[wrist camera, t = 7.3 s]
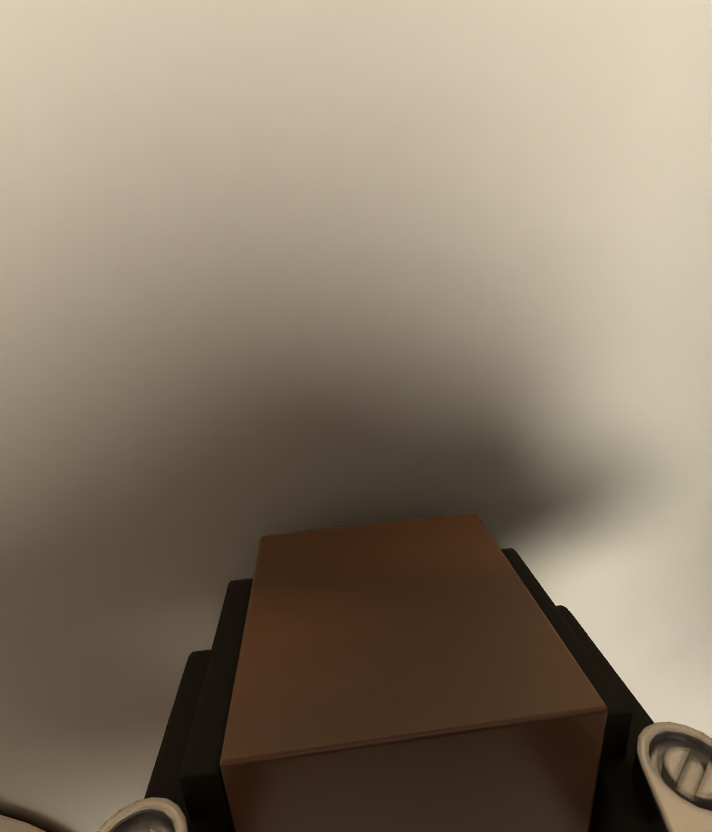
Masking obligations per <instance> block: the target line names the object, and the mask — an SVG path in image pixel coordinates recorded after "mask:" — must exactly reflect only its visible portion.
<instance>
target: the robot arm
mask: <svg viewBox="0 0 712 832" xmlns="http://www.w3.org/2000/svg"><path fill="white" fill-rule="evenodd" d="M500 550H501V551H502V552H503V554H504V555H505V557H506V558H507V560H508V561H509V563H510V564H511V566H512V567H513V569H514V570H515V572H516V573H517V575H518V576H519V578H520V579H521V581H522V582H523V584H524V585H525V586H526V588H527V589H528V591H529V592H530V594H531V595H532V597H533V598H534V600H535V601H536V603H537V604H538V606H539V607H540V609H541V610H542V612H543V613H544V615H545V616H546V618H547V619H548V620H549V622H550V623H551V625H552V626H553V628H554V629H555V631H556V632H557V634H558V635H559V637H560V638H561V640H562V641H563V643H564V644H565V646H566V647H567V649H568V650H569V652H570V653H571V654H572V656H573V657H574V659H575V660H576V662H577V663H578V665H579V666H580V668H581V669H582V671H583V672H584V674H585V675H586V677H587V678H588V680H589V681H590V683H591V684H592V686H593V687H594V688H595V690H596V691H597V693H598V694H599V696H600V697H601V699H602V700H603V702H604V703H605V705H606V707H607V711H608V713H607V720H606V726H605V733H604V739H603V746H602V752H601V759H600V765H599V772H598V778H597V785H596V791H595V798H594V804H593V811H592V818H591V824H590V831H589V832H712V738H710V737H709V736H707V735H706V734H704V733H702V732H700V731H698V730H695V729H693V728H691V727H688V726H686V725H682V724H677V723H672V722H658V723H654V722H653V721H652V719H651V718H650V717H649V715H648V714H647V713H646V711H645V710H644V709H643V707H642V706H641V705H640V703H639V702H638V701H637V700H636V698H635V697H634V696H633V694H632V693H631V692H630V690H629V689H628V688H627V686H626V685H625V684H624V682H623V681H622V680H621V678H620V677H619V676H618V674H617V673H616V672H615V670H614V669H613V668H612V666H611V665H610V664H609V662H608V661H607V660H606V658H605V657H604V656H603V654H602V653H601V652H600V650H599V649H598V648H597V647H596V645H595V644H594V643H593V641H592V640H591V639H590V637H589V636H588V635H587V633H586V632H585V631H584V629H583V628H582V627H581V625H580V624H579V623H578V621H577V620H576V619H575V617H574V616H573V615H572V613H571V612H570V611H569V610H568V609H567V608H566V607H564V606H562V605H559V606H555V604H554V603H553V602H552V600H551V599H550V597H549V596H548V595H547V593H546V592H545V591H544V589H543V588H542V586H541V585H540V584H539V582H538V581H537V579H536V578H535V577H534V575H533V574H532V573H531V571H530V570H529V568H528V567H527V566H526V564H525V563H524V562H523V560H522V559H521V557H520V556H519V555H518V553H517V552H516V551H515V550H514V549H512V548H509V549H500ZM252 581H253V578H250V579H241V580H233V581H230V582H229V584H228V587H227V591H226V595H225V599H224V603H223V607H222V611H221V614H220V618H219V622H218V626H217V630H216V634H215V638H214V642H213V646H212V649H211V650H203V651H195V652H192V653H191V654H190V655H189V658H188V660H187V663H186V666H185V669H184V672H183V675H182V679H181V682H180V685H179V688H178V692H177V695H176V698H175V701H174V704H173V708H172V711H171V714H170V717H169V721H168V724H167V727H166V730H165V733H164V737H163V740H162V743H161V746H160V750H159V753H158V756H157V759H156V762H155V766H154V769H153V772H152V775H151V779H150V782H149V785H148V788H147V791H146V795H145V798H144V799H143V800H138V801H136V802H134V803H132V804H130V805H128V806H126V807H124V808H123V809H121V810H119V811H118V812H117V813H116V814H115V815H113V816H112V817H111V818H110V819H109V820H107V821H106V822H105V823H104V824H103V825H102V826H101V827H100V829H99V830H98V831H97V832H235V830H234V825H233V821H232V816H231V812H230V808H229V803H228V799H227V794H226V790H225V786H224V781H223V777H222V773H221V768H220V758H221V753H222V747H223V742H224V736H225V731H226V725H227V720H228V714H229V709H230V703H231V698H232V692H233V687H234V681H235V675H236V670H237V664H238V659H239V653H240V648H241V642H242V637H243V631H244V626H245V620H246V615H247V609H248V604H249V598H250V593H251V587H252ZM0 832H46V831H44V830H42V829H39V828H37V827H35V826H32V825H30V824H28V823H26V822H23V821H19V820H16V819H12V818H9V817H6V816H2V815H0Z"/></svg>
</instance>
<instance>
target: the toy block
mask: <svg viewBox="0 0 712 832" xmlns="http://www.w3.org/2000/svg"><path fill="white" fill-rule="evenodd" d="M607 713H608V711H607V707H606V705H605V703H604V702H603V700H602V699H601V697H600V696H599V694H598V693H597V691H596V690H595V688H594V687H593V686H592V684H591V683H590V681H589V680H588V678H587V677H586V675H585V674H584V672H583V671H582V669H581V668H580V666H579V665H578V663H577V662H576V660H575V659H574V657H573V656H572V654H571V653H570V652H569V650H568V649H567V647H566V646H565V644H564V643H563V641H562V640H561V638H560V637H559V635H558V634H557V632H556V631H555V629H554V628H553V626H552V625H551V623H550V622H549V620H548V619H547V618H546V616H545V615H544V613H543V612H542V610H541V609H540V607H539V606H538V604H537V603H536V601H535V600H534V598H533V597H532V595H531V594H530V592H529V591H528V589H527V588H526V586H525V585H524V584H523V582H522V581H521V579H520V578H519V576H518V575H517V573H516V572H515V570H514V569H513V567H512V566H511V564H510V563H509V561H508V560H507V558H506V557H505V555H504V554H503V552H502V551H501V550H500V548H499V547H498V545H497V544H496V542H495V541H494V539H493V538H492V536H491V535H490V533H489V532H488V530H487V529H486V527H485V526H484V524H483V523H482V521H481V520H480V518H479V517H478V516H477V514H476V513H466V514H457V515H448V516H438V517H429V518H420V519H411V520H402V521H393V522H384V523H375V524H366V525H356V526H347V527H338V528H329V529H320V530H311V531H302V532H293V533H284V534H274V535H265V536H261V538H260V543H259V548H258V554H257V559H256V565H255V570H254V576H253V581H252V587H251V593H250V598H249V604H248V609H247V615H246V620H245V626H244V631H243V637H242V642H241V648H240V653H239V659H238V664H237V670H236V675H235V681H234V687H233V692H232V698H231V703H230V709H229V714H228V720H227V725H226V731H225V736H224V742H223V747H222V753H221V758H220V768H221V773H222V777H223V781H224V786H225V790H226V794H227V799H228V803H229V808H230V812H231V816H232V821H233V825H234V830H235V832H589V831H590V824H591V818H592V811H593V804H594V798H595V791H596V785H597V778H598V772H599V765H600V759H601V752H602V746H603V739H604V733H605V726H606V720H607Z"/></svg>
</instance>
